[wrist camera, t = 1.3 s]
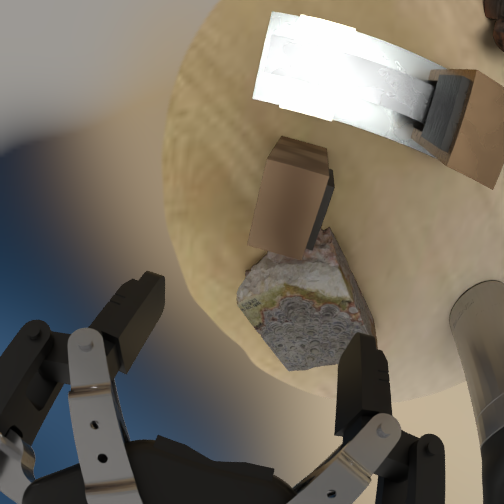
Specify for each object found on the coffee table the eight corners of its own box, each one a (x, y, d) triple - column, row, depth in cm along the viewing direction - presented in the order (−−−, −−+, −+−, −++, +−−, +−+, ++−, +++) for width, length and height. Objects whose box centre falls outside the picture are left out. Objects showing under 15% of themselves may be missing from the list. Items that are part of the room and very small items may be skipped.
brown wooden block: (265, 201, 29) (247, 245, 22) (281, 135, 25) (266, 158, 18) (312, 215, 28) (309, 262, 22) (333, 150, 25) (338, 179, 18)
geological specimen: (293, 378, 35) (221, 295, 29) (299, 340, 40) (237, 257, 33) (380, 360, 30) (329, 258, 24) (376, 319, 35) (328, 220, 29)
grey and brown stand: (489, 92, 18) (549, 108, 10) (462, 172, 23) (510, 215, 15) (273, 11, 19) (250, -21, 12) (253, 100, 24) (221, 111, 16)
